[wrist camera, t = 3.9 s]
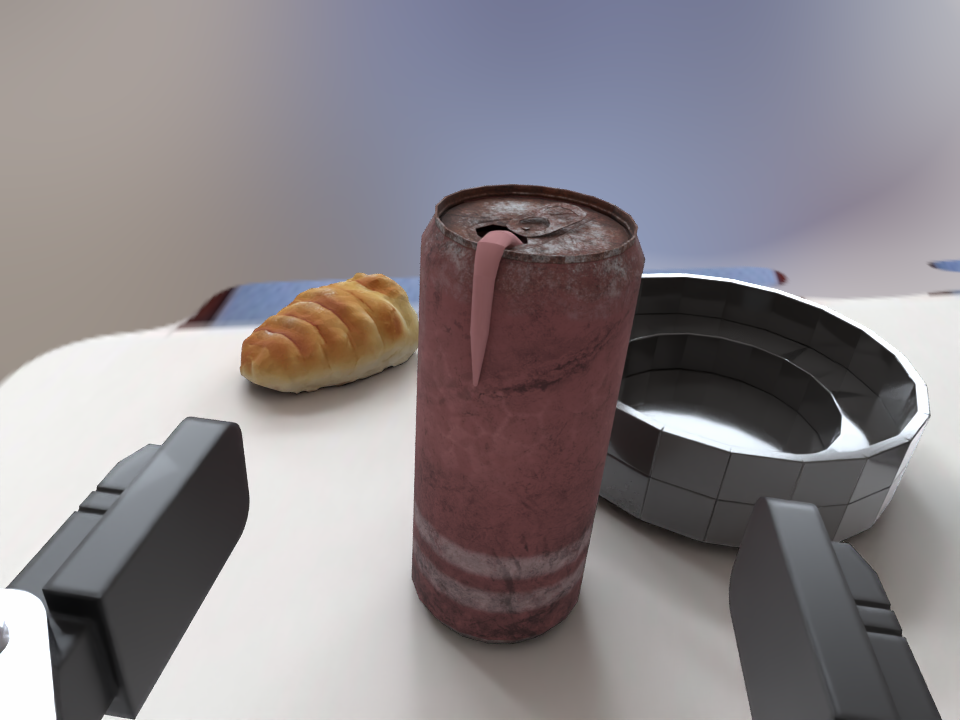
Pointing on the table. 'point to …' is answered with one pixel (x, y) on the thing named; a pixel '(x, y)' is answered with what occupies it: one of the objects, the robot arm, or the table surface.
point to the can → (516, 400)
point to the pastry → (333, 336)
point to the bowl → (756, 410)
